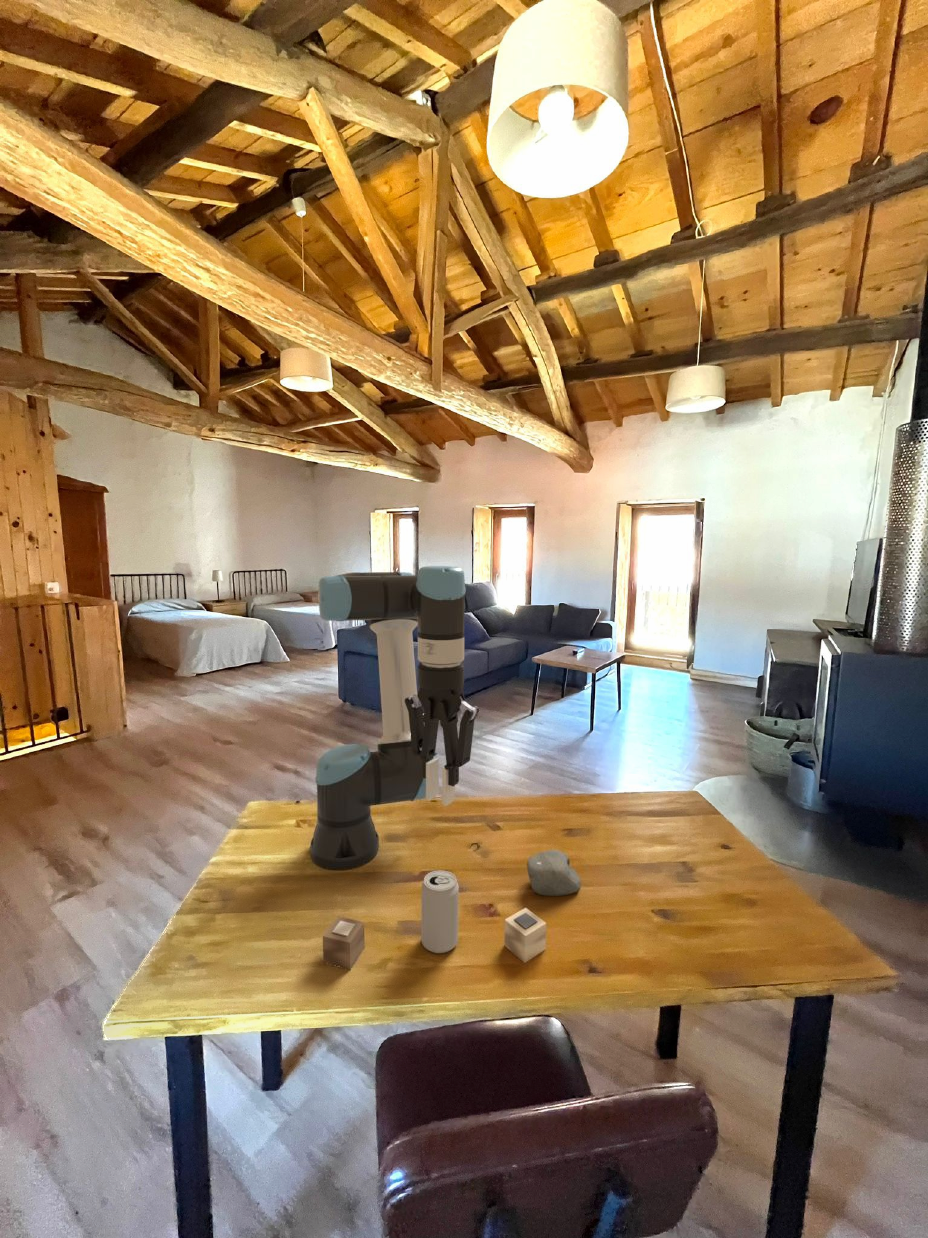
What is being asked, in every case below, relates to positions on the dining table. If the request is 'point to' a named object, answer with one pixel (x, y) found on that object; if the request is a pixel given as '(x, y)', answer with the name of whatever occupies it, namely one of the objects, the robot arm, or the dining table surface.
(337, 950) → the walnut block
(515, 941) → the beech block
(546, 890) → the stone
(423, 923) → the beverage can
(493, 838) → the dining table surface
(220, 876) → the dining table surface
